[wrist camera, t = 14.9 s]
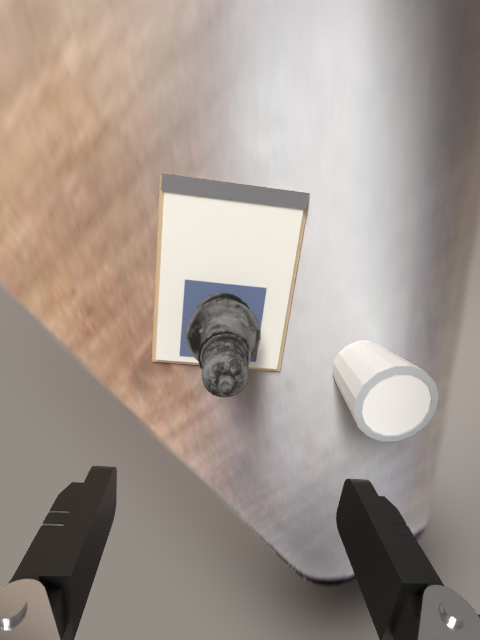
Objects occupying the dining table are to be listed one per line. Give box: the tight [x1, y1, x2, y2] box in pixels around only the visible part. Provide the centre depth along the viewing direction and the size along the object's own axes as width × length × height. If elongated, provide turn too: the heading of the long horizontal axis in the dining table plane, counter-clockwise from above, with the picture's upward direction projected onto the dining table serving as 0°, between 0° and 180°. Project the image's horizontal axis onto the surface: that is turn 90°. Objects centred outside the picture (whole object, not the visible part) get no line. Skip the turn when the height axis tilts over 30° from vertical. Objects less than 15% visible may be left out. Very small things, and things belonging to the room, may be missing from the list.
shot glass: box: [333, 341, 439, 442], centre depth 30 cm, size 7×7×7 cm
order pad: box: [152, 174, 310, 372], centre depth 29 cm, size 16×12×1 cm
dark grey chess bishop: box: [186, 293, 261, 397], centre depth 24 cm, size 6×6×12 cm
